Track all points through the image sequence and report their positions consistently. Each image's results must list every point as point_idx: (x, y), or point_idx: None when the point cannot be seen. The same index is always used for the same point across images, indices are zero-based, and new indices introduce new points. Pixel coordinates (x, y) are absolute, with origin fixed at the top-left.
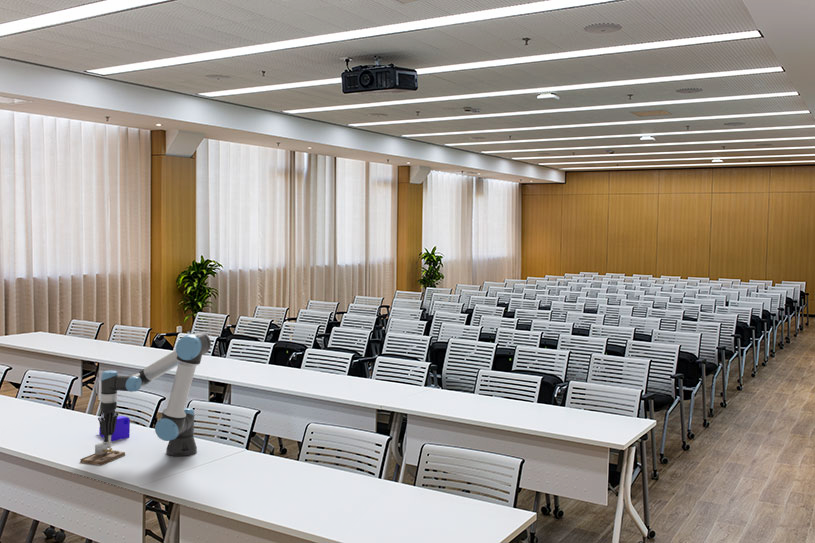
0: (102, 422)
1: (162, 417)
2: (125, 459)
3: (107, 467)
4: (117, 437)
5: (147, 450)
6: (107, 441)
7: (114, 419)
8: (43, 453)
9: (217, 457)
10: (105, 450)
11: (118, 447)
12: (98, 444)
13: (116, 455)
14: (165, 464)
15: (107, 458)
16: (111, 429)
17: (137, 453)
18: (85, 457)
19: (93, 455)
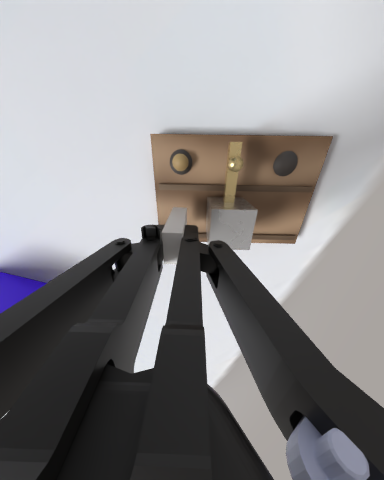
0: (321, 369)
1: None
2: (211, 79)
3: (359, 78)
4: (28, 286)
5: (28, 69)
6: (189, 225)
7: (22, 340)
8: (225, 345)
9: None
10: (234, 193)
11: (88, 232)
12: (240, 239)
13: (215, 137)
14: None
15: (272, 147)
16: (145, 255)
17: (99, 90)
18: (281, 237)
19: None
